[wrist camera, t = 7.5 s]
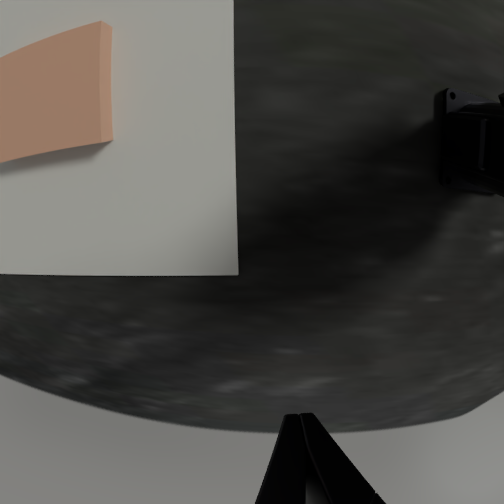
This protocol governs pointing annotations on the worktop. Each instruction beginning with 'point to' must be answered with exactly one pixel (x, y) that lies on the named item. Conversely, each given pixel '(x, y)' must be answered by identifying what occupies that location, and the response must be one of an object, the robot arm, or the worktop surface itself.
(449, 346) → the worktop surface
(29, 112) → the tile
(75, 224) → the mat
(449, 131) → the robot arm
